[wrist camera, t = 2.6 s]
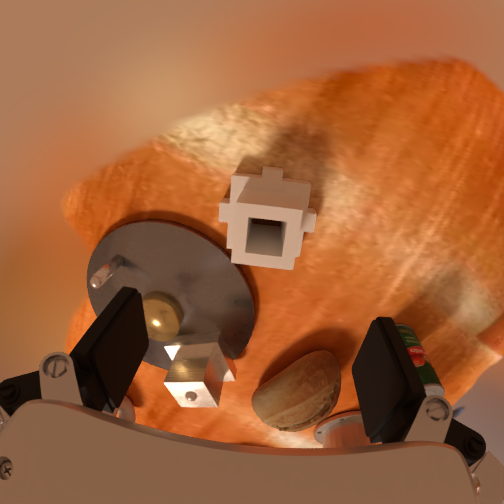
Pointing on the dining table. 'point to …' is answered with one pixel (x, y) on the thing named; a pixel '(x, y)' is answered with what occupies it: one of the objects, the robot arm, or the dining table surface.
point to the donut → (124, 410)
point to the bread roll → (300, 393)
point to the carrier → (179, 302)
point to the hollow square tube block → (267, 207)
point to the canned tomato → (421, 361)
